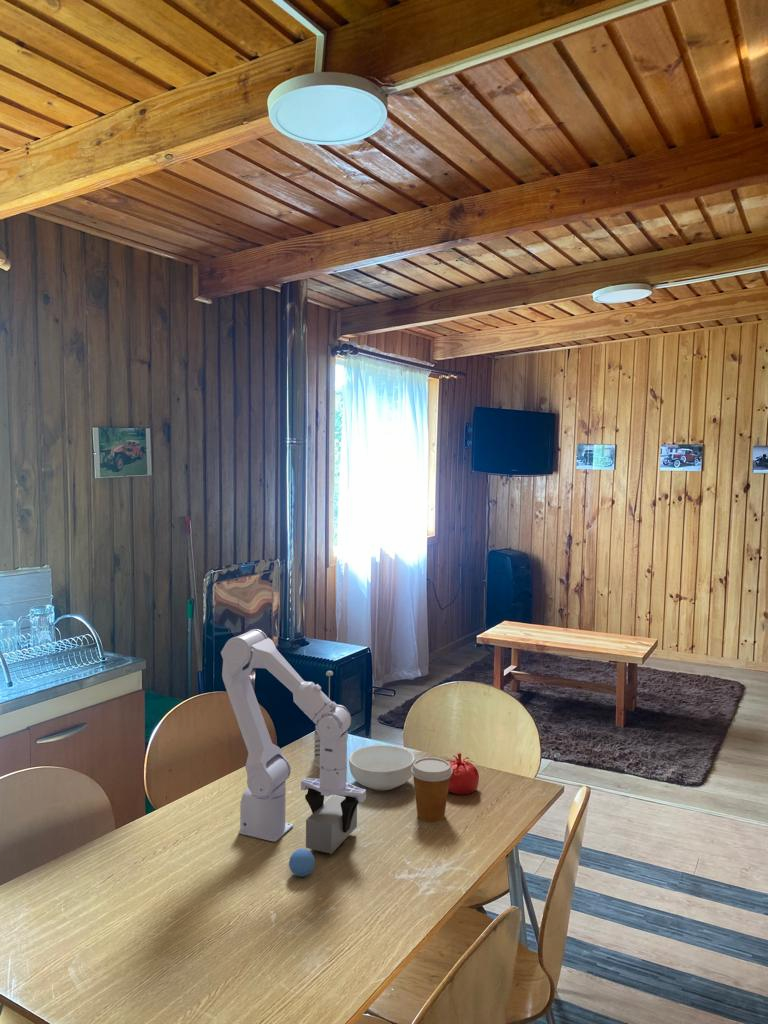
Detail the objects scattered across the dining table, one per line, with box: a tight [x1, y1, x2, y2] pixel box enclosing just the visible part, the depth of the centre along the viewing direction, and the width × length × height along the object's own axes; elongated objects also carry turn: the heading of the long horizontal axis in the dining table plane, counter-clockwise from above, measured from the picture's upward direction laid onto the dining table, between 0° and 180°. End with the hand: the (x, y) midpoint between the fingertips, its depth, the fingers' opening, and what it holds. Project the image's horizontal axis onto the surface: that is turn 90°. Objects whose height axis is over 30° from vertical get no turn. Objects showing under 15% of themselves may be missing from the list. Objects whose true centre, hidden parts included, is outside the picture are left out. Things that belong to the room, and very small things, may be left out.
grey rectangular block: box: [305, 795, 358, 855], centre depth 160 cm, size 6×12×6 cm, turn 157°
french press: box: [310, 670, 349, 769], centre depth 203 cm, size 10×12×25 cm
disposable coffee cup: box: [411, 757, 452, 822], centre depth 173 cm, size 10×10×12 cm
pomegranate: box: [445, 752, 480, 796], centre depth 187 cm, size 10×10×9 cm
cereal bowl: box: [348, 744, 416, 791], centre depth 190 cm, size 17×17×7 cm
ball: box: [288, 848, 316, 877], centre depth 147 cm, size 5×5×5 cm
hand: (332, 827), depth 160 cm, fingers closed on grey rectangular block, 6 cm apart
